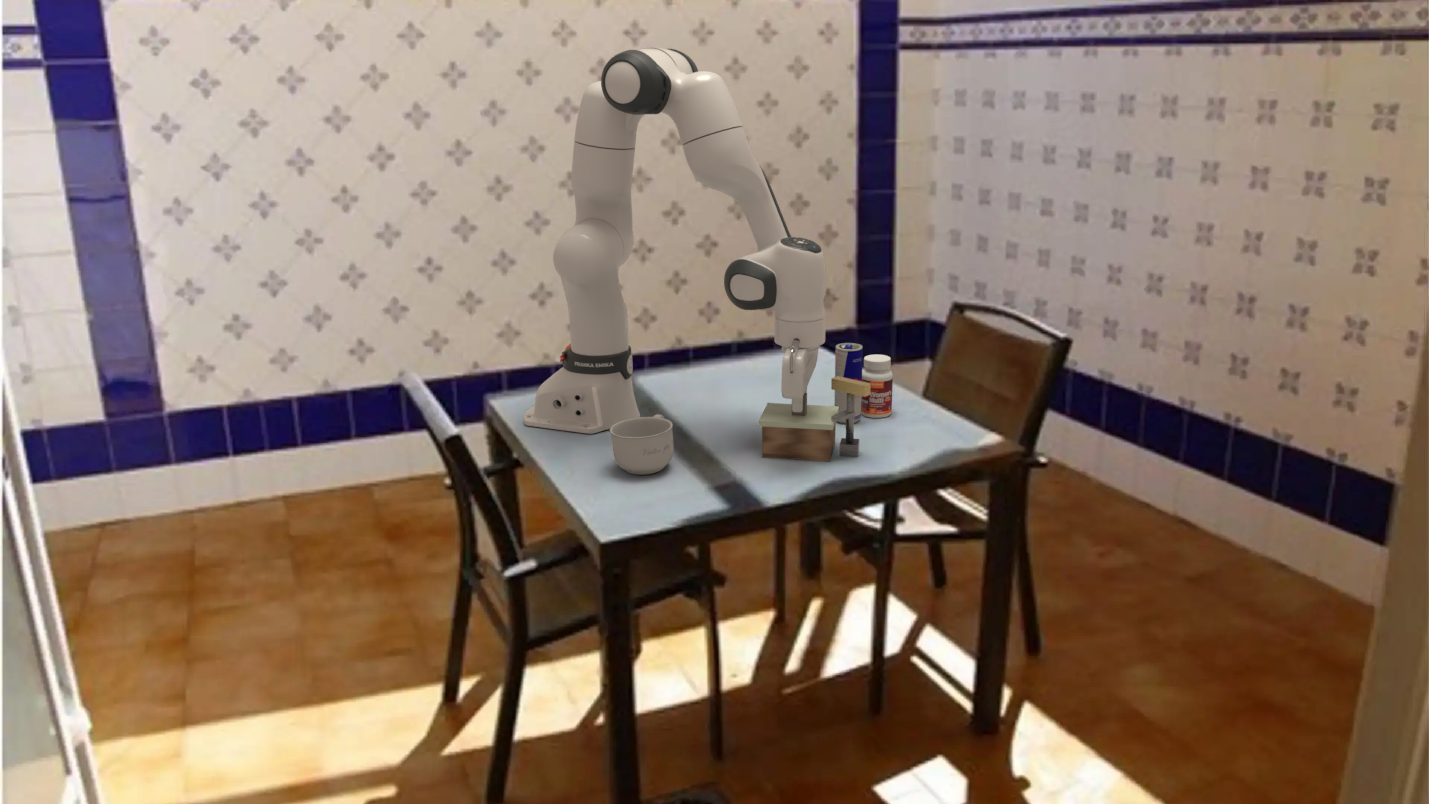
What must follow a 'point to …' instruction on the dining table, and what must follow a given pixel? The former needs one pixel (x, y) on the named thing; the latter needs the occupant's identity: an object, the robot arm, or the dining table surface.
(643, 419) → the teacup
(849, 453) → the key socket
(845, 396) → the beverage can
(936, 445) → the dining table surface
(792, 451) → the box
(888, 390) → the pill bottle
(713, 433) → the dining table surface
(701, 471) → the dining table surface
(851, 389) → the key
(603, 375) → the robot arm
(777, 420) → the lid
